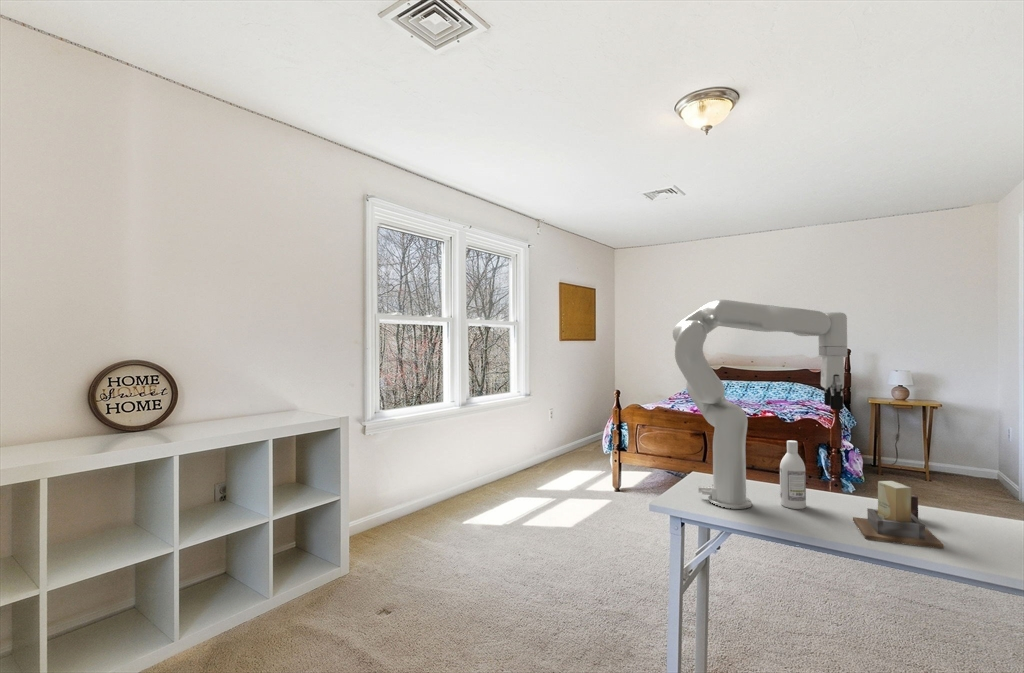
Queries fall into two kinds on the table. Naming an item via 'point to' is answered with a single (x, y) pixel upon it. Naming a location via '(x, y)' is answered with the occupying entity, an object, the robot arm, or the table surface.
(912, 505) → the box
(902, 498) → the skincare box
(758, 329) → the robot arm
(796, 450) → the bath foam
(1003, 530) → the table surface
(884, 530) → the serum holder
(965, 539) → the table surface
